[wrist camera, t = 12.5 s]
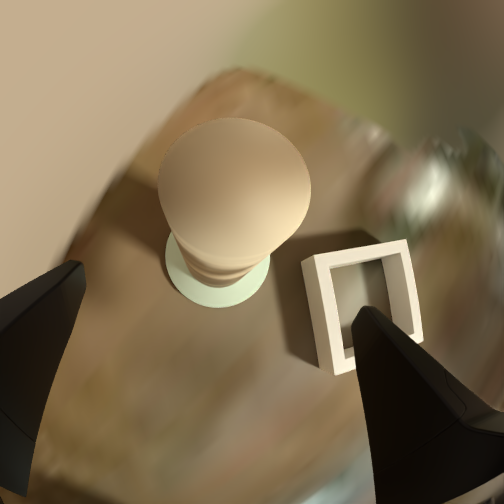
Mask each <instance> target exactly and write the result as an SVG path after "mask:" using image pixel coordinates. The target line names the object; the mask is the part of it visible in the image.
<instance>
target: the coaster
mask: <svg viewBox="0 0 504 504" xmlns="http://www.w3.org/2000/svg"><path fill="white" fill-rule="evenodd" d="M165 259H166V266H167V270H168V273H169V276H170V278H171V280H172V282H173V283H174V285H175V286H176V288H177V289H178V290H179V291H180V292H181V293H182V294H183V295H184V296H186V297H187V298H188V299H190V300H192V301H193V302H195V303H198V304H200V305H203V306H207V307H215V308H221V307H229V306H233V305H236V304H238V303H241V302H243V301H244V300H246V299H248V298H249V297H250V296H252V295H253V294H254V293H255V292H256V291H257V290H258V288H259V287H260V286H261V285H262V283H263V281H264V279H265V277H266V275H267V272H268V268H269V263H270V254H269V255H268V256H267V257H266V258H265V259H264V260H263V261H261V262H260V263H259V264H258V265H257V266H256V267H254V268H253V269H252V270H251V271H250V272H249V273H247V274H246V275H245V276H244V277H243V278H242V279H240V280H239V281H238V282H236V283H235V284H233V285H231V286H228V287H224V288H213V287H209V286H206V285H204V284H202V283H200V282H198V281H197V280H196V279H195V278H194V277H193V276H192V275H191V273H190V272H189V270H188V268H187V265H186V263H185V261H184V259H183V256H182V254H181V252H180V250H179V247H178V245H177V243H176V240H175V238H174V236H173V233H172V231H171V233H170V235H169V238H168V241H167V245H166V252H165Z"/></svg>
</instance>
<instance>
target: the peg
mask: <svg viewBox="0 0 504 504" xmlns="http://www.w3.org/2000/svg"><path fill="white" fill-rule="evenodd" d="M158 195H159V200H160V203H161V207H162V209H163V212H164V214H165V217H166V219H167V221H168V224H169V226H170V229H171V231H172V233H173V236H174V238H175V240H176V243H177V245H178V247H179V250H180V252H181V254H182V256H183V259H184V261H185V263H186V265H187V268H188V270H189V272H190V273H191V275H192V276H193V277H194V278H195V279H196V280H197V281H198V282H200V283H202V284H204V285H206V286H209V287H213V288H224V287H228V286H231V285H233V284H235V283H236V282H238V281H239V280H240V279H242V278H243V277H244V276H245V275H246V274H247V273H249V272H250V271H251V270H252V269H253V268H254V267H256V266H257V265H258V264H259V263H260V262H261V261H263V260H264V259H265V258H266V257H267V256H268V255H269V254H271V253H272V252H273V251H274V250H275V249H276V248H278V247H279V246H280V245H281V244H282V243H283V242H284V241H286V240H287V239H288V238H289V237H290V236H291V235H292V234H293V233H294V232H295V231H296V230H297V228H298V227H299V226H300V224H301V223H302V221H303V219H304V217H305V215H306V213H307V210H308V207H309V202H310V196H311V183H310V177H309V173H308V170H307V167H306V164H305V162H304V160H303V158H302V156H301V155H300V153H299V152H298V150H297V149H296V148H295V147H294V145H293V144H292V143H291V142H290V141H289V140H288V139H287V138H286V137H284V136H283V135H282V134H280V133H279V132H278V131H276V130H274V129H273V128H271V127H269V126H267V125H264V124H262V123H259V122H256V121H253V120H248V119H243V118H221V119H215V120H210V121H207V122H204V123H201V124H199V125H197V126H195V127H193V128H191V129H189V130H188V131H186V132H185V133H184V134H182V135H181V136H180V137H179V138H178V139H177V140H176V141H175V142H174V143H173V144H172V145H171V147H170V148H169V150H168V151H167V153H166V154H165V156H164V158H163V161H162V163H161V166H160V169H159V175H158Z"/></svg>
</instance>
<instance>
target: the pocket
mask: <svg viewBox="0 0 504 504" xmlns="http://www.w3.org/2000/svg"><path fill="white" fill-rule="evenodd" d="M377 259H381V260H382V264H383V269H384V274H385V279H386V284H387V290H388V295H389V301H390V307H391V314H392V320H393V323H394V324H395V325H396V326H398V327H399V328H400V329H401V330H402V331H403V332H405V333H406V334H407V335H408V336H409V337H410V338H411V339H413V340H414V341H415V342H416V343H417V344H418V343H420V342H422V341H423V332H422V324H421V316H420V309H419V302H418V296H417V290H416V284H415V279H414V274H413V269H412V264H411V259H410V254H409V250H408V246H407V242H406V239H404V240H398V241H393V242H387V243H381V244H376V245H370V246H364V247H358V248H352V249H346V250H341V251H335V252H329V253H323V254H317V255H313V256H311V257H309V258H307V259H305V260H303V261H301V267H302V272H303V277H304V282H305V288H306V293H307V298H308V304H309V309H310V315H311V320H312V326H313V332H314V338H315V344H316V350H317V356H318V363H319V368H320V369H322V370H324V371H326V372H328V373H330V374H332V375H334V376H335V375H339V374H342V373H345V372H347V371H350V370H353V369H356V365H355V357H354V348H353V347H350V348H347V349H343V342H342V336H341V329H340V323H339V317H338V311H337V306H336V300H335V295H334V289H333V284H332V279H331V274H330V269H331V268H337V267H342V266H347V265H352V264H357V263H362V262H367V261H372V260H377Z"/></svg>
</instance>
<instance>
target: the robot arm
mask: <svg viewBox="0 0 504 504" xmlns="http://www.w3.org/2000/svg"><path fill="white" fill-rule="evenodd" d="M85 290H86V278H85V272H84V266H83V263H82V262H80V261H75V260H69V261H67V262H65V263H63V264H62V265H60V266H58V267H56V268H54V269H52V270H50V271H48V272H47V273H45V274H43V275H41V276H39V277H37V278H36V279H34V280H32V281H30V282H28V283H27V284H25V285H23V286H21V287H20V288H18V289H17V290H14V291H13V292H11V293H10V294H8V295H6V296H5V297H3V298H1V299H0V486H1V487H3V488H5V489H7V490H9V491H12V492H14V493H16V494H19V495H21V496H23V497H26V494H27V488H28V481H29V475H30V469H31V463H32V458H33V453H34V449H35V444H36V443H35V442H36V439H37V435H38V431H39V427H40V423H41V419H42V416H43V412H44V409H45V405H46V402H47V399H48V396H49V392H50V389H51V386H52V383H53V380H54V377H55V374H56V372H57V369H58V366H59V363H60V361H61V358H62V355H63V353H64V350H65V348H66V345H67V343H68V340H69V338H70V335H71V333H72V330H73V327H74V324H75V321H76V317H77V314H78V311H79V308H80V305H81V302H82V299H83V296H84V293H85ZM351 331H352V339H353V348H354V357H355V365H356V371H357V377H358V382H359V387H360V392H361V397H362V402H363V408H364V413H365V419H366V425H367V432H368V438H369V445H370V452H371V459H372V467H373V474H374V475H373V476H374V485H375V495H376V504H504V412H500V411H497V410H495V409H493V408H492V407H490V406H489V405H488V404H486V403H485V402H484V401H483V400H482V399H480V398H479V397H478V396H477V395H475V394H474V393H473V392H472V391H470V390H469V389H468V388H467V387H466V386H464V385H463V384H462V383H461V382H460V381H459V380H457V379H456V378H455V377H454V376H453V375H452V374H451V373H450V372H449V371H447V370H446V369H445V368H444V367H443V366H442V365H441V364H440V363H439V362H437V361H436V360H435V359H434V358H433V357H432V356H431V355H430V354H428V353H427V352H426V351H425V350H424V349H423V348H422V347H421V346H419V345H418V344H417V343H416V342H415V341H414V340H413V339H411V338H410V337H409V336H408V335H407V334H406V333H405V332H403V331H402V330H401V329H400V328H399V327H398V326H396V325H395V324H394V323H393V322H392V321H391V320H389V319H388V318H387V317H386V316H385V315H384V314H382V313H381V312H380V311H379V310H378V309H377V308H375V307H373V306H363V307H362V308H361V309H360V311H359V312H358V314H357V316H356V317H355V319H354V321H353V323H352V326H351ZM0 504H4V503H3V501H2V499H1V497H0Z"/></svg>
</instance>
